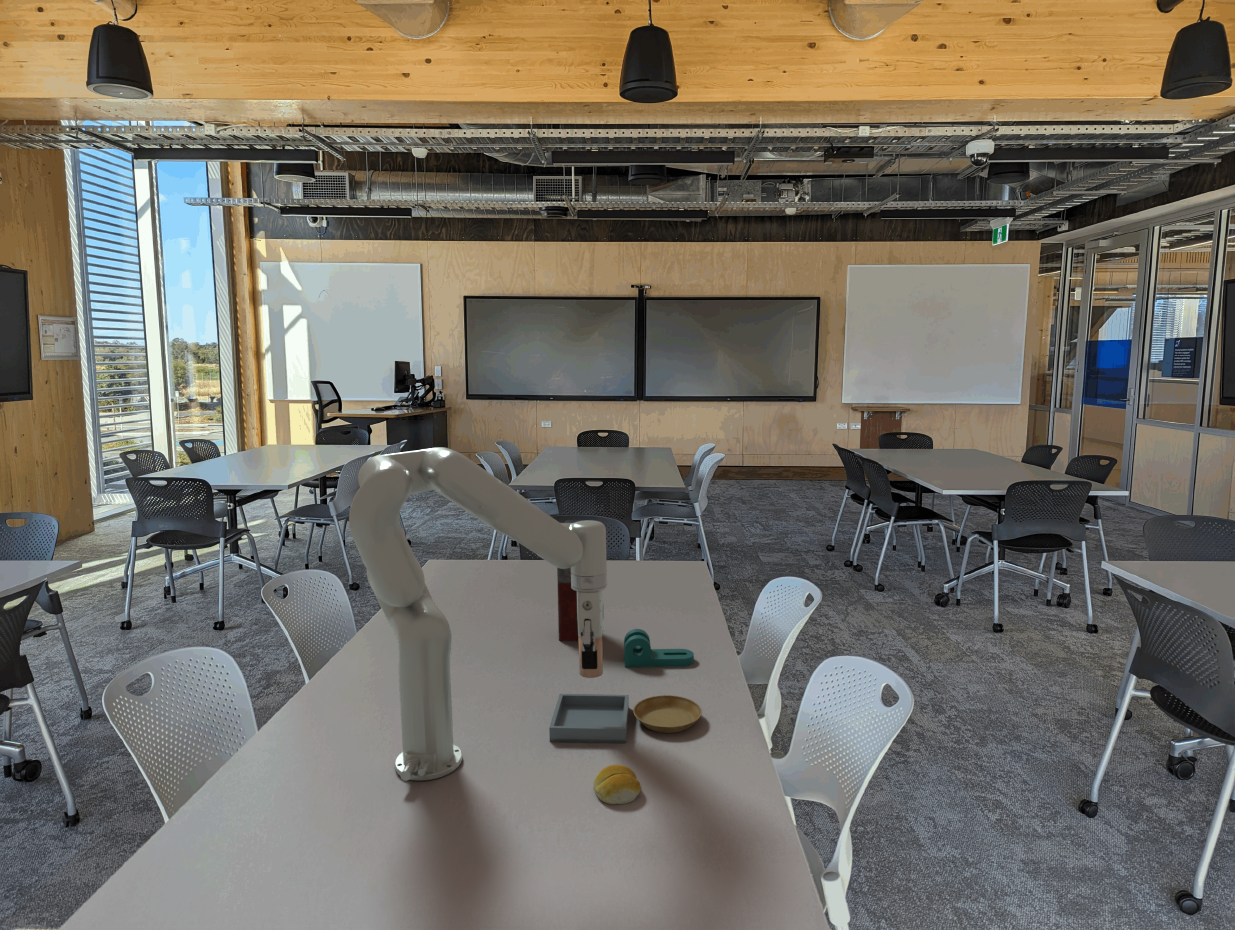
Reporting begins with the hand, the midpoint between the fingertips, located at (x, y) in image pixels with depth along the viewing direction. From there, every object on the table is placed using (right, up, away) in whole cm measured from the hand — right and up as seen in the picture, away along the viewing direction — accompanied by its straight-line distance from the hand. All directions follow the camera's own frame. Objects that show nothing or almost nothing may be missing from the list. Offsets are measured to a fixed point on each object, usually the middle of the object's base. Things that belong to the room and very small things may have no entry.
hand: (591, 662), depth 154 cm
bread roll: (+6, -17, -23) cm, 29 cm away
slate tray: (0, -14, +2) cm, 14 cm away
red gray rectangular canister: (-5, -7, +54) cm, 54 cm away
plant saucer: (+16, -14, +3) cm, 22 cm away
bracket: (+16, -10, +35) cm, 39 cm away
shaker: (0, -2, 0) cm, 2 cm away
